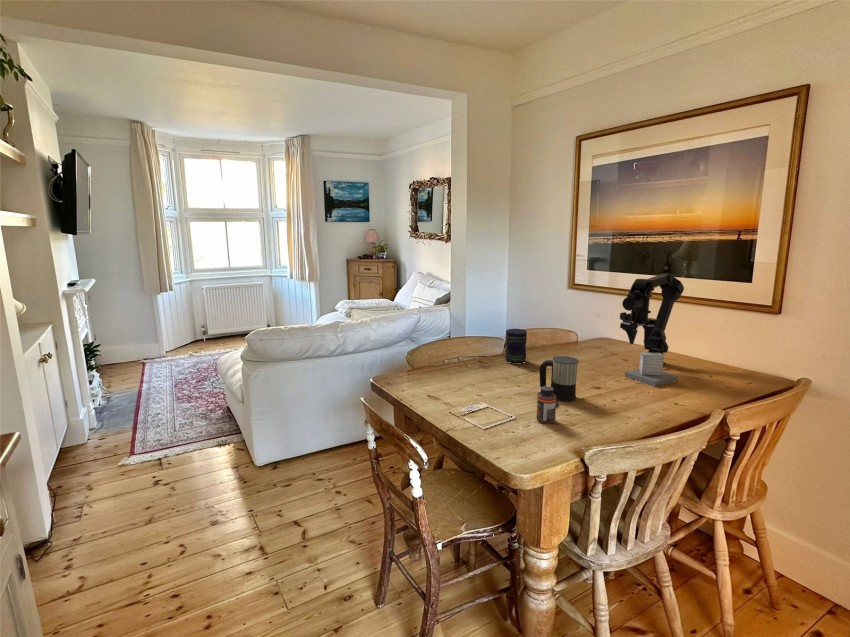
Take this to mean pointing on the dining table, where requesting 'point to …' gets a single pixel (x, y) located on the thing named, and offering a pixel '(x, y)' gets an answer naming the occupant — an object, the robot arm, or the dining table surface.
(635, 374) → the riser block
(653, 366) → the medicine box
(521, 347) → the storage jar
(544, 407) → the supplement bottle
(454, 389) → the dining table surface
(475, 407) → the photo frame
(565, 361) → the milk frother
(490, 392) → the dining table surface
